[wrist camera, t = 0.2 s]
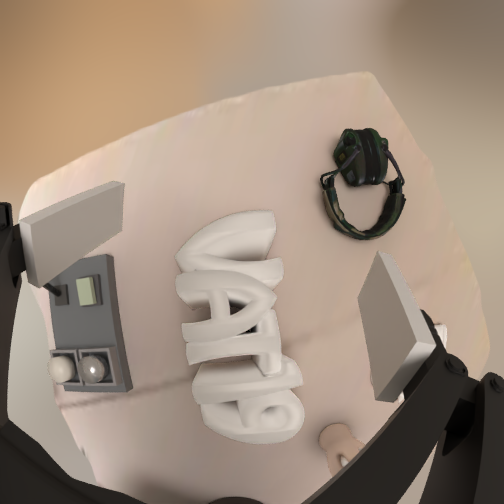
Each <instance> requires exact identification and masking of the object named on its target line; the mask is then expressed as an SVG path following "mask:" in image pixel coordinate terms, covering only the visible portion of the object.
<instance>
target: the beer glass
mask: <svg viewBox="0 0 504 504" xmlns="http://www.w3.org/2000/svg"><path fill="white" fill-rule="evenodd" d="M319 444H320V446H321V448H322V449H323V450H325V451H326V454H327V463H328V468H329V471H330V473H331V475H332V477H334V476H335V475H336V474H337V473H338V472H339V471H340V470H341V469H342V468H343V467H344V466H345V465H346V464H347V463H349V462H350V461H351V460H352V459H353V458H354V457H355V456H356V455H357V454H358V453H359V452H360V451H361V449H362V448H363V447H364V446H365V444H364V443H362V442H361V441H359V440H358V439H356V438H354V437H353V436H352V433H351V431H350V429H349V427H348V426H346V425H345V424H341V423H335V424H332V425H329V426H328V427H326V428H325V429H324V430H323V431H322V432H321V434H320V436H319Z"/></svg>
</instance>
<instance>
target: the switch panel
mask: <svg viewBox="0 0 504 504" xmlns="http://www.w3.org/2000/svg"><path fill="white" fill-rule="evenodd" d="M88 277H92V278H93V284H94V290H95V296H96V302H97V303H95V304H89V305H81V306H80V301H79V296H78V290H77V283H76V279H82V278H88ZM48 283H50V284H51V285H52V286H54V287H55V288H56V289H58V290H59V291H60V292H61V295H60V296H59V297H57V296H55V295H54V294H52V293H51V292H49V299H50V309H51V318H52V325H53V333H54V339H55V345H56V349H55V350H50V355H51V358H54V357H59V356H68V357H69V358H70V359H71V360H72V361H73V363H74V365H75V368H76V373H75V376H74V378H72V379H70V380H68V381H65V382H62V383H58V382H56V384H57V385H64V389H65V391H75V392H128V391H129V390H131V389H132V388H133V386H132V381H131V377H130V372H129V367H128V362H127V357H126V352H125V346H124V340H123V334H122V328H121V321H120V314H119V307H118V299H117V291H116V281H115V271H114V259H113V257H112V256H110V255H107V254H104V255H99V256H94V257H89V258H84V259H79V260H78V261H76V262H75V263H74V264H72V265H71V266H69V267H68V268H67V269H65V270H64V271H62V272H61V273H60V274H58V275H57V276H56V277H54V278H53V279H52V280H50V281H49V282H48ZM91 355H99V356H101V357H102V358H103V359H104V360H105V361H106V363H107V365H108V375H107V377H106V378H105V379H103V380H101V381H99V382H96V383H94V384H89V383H87V382H85V381H84V380H83V379H82V378H81V377H80V375H79V373H78V362H79V361H80V359H82V358H84V357H87V356H91Z"/></svg>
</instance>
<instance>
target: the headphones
mask: <svg viewBox="0 0 504 504" xmlns="http://www.w3.org/2000/svg"><path fill="white" fill-rule="evenodd" d="M334 157H335V160H336V163H337V165H338V167H339V169H337V170H335V171H332V172H328V173H325V174H323V175H321V178H320V181H321V185H322V187H323V189H324V191H323V197H324V202H325V207H326V211H327V213H328V216H329V217H330V219H331V220H332V221H333V222H334V228H335V229H337V230H339V231H340V232H342V233H344V234H346V235H348V236H350V237H352V238H355V239H360V240H370V239H376V238H379V237H381V236H383V235H384V234H386V233H387V232H388V231H389V230H390V229H391V228H392V227H393V226H394V225H395V223H396V222H397V220H398V219H399V217H400V215H401V212H402V210H403V207H404V204H405V201H406V199H405V198H404V194H402V186H403V185H404V183H405V182H404V179H403V176H402V174H401V172H400V170H399V167H398V165H397V163H396V161H395V159H394V158H393V155H392V154H391V152H390V151H389V150H388V140H387V139H386V138H381V137H380V135H379V134H378V132H377V131H376V130H374V129H372V128H365V129H363V130H353V129H345V130H344V131H343V133H342V135H341V137H340V140H339V143H338V145H337V147H336V149H335V151H334ZM388 158H389V160H390V161H391V162H392V164H393V166H394V167H395V169H396V171H397V173H398V177H397V178H396V179H395V180H393V181H390V182H388V183H389V184H388V183H386V182H384V181H383V180H384V179H385V176H386V173H387V168H388ZM340 171H341V173H342V175H343V176H344V178H345V179H346V181H347V182H348V183H349V184H350V185H351V186H354V187H356V186H360V185H362V184H371V185H379V184H381V183H382V182H383V183H385V184H387V185H389V190H390V196H388V198H387V201H386V203H385V206H384V210H383V213H382V215H381V216H380V218H379V221H378V223H377V224H376V225H375V226H374V227H373V228H372V229H370V230H365V231H363V232H361V231H358V230H357V229H356V228H355V227H354V226H353V225H351V224H349V223H348V222H347V221H346V220H345V218H344V213H343V212H342V211H341V209H340V208H339V203H338V198H337V193H336V189H335V187H334V177H335V176H336V175H337V174H338V173H339V172H340ZM330 174H334V175H331V176H330V177H329V178H327V179H326V180H325V184H324V183H323V177H324V176H327V175H330ZM401 180H402V183H401ZM392 187H393V188H392Z"/></svg>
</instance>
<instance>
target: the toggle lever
mask: <svg viewBox="0 0 504 504" xmlns="http://www.w3.org/2000/svg"><path fill="white" fill-rule="evenodd" d="M43 287H44V288H45V289H47V290H48V291H49V292H51V293H52V294H54V295H55V296H57V297H59V296H60V295H61V292H60V291H59V290H58V289H56V288H55V287H54V286H52V285H51V284H50V283H46V284H45V285H44V286H43Z"/></svg>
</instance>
